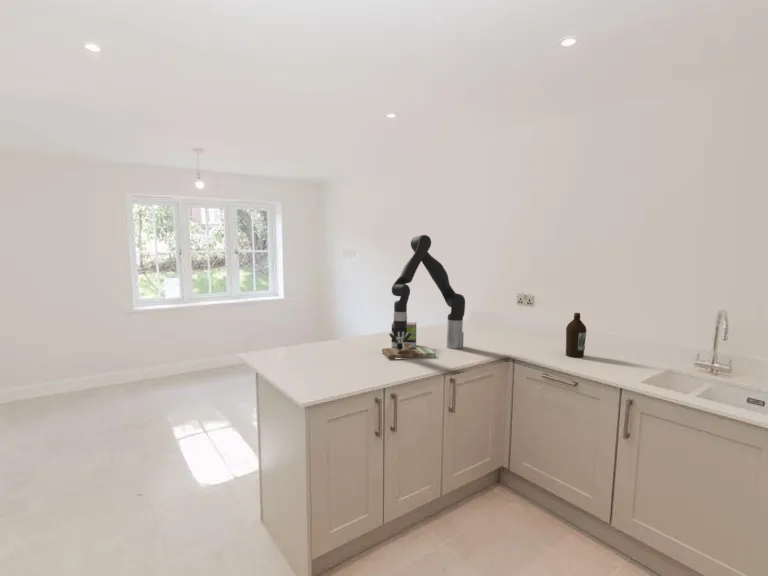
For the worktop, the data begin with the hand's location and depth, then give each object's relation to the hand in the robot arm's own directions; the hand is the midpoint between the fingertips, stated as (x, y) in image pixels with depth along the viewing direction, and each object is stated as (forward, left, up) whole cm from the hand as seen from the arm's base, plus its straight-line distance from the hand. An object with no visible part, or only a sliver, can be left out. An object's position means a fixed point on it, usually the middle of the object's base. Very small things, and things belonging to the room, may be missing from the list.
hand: (399, 349), depth 239 cm
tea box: (-9, -20, -4) cm, 22 cm away
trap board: (-5, 0, -3) cm, 6 cm away
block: (-3, -1, 0) cm, 3 cm away
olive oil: (-100, +20, -4) cm, 102 cm away
